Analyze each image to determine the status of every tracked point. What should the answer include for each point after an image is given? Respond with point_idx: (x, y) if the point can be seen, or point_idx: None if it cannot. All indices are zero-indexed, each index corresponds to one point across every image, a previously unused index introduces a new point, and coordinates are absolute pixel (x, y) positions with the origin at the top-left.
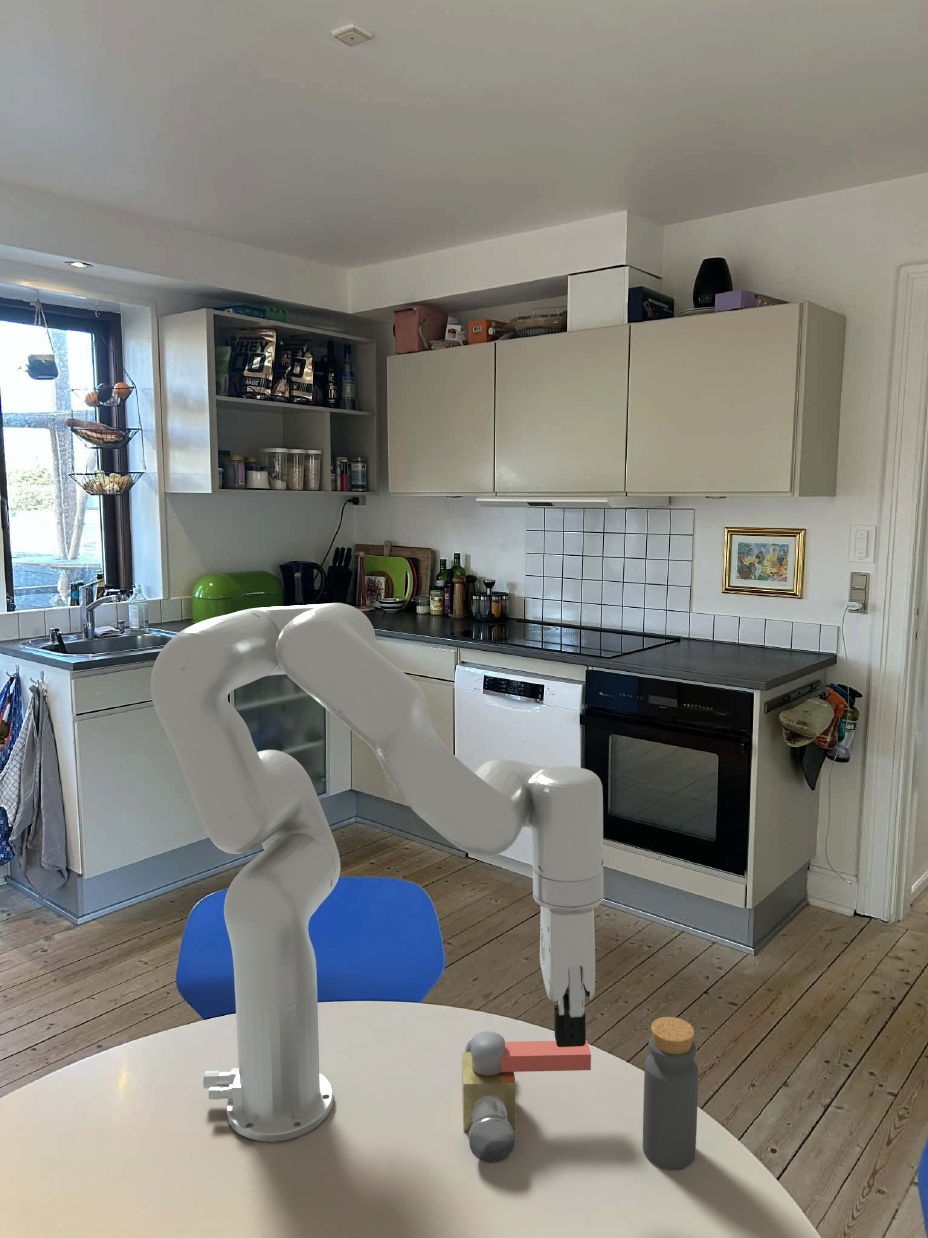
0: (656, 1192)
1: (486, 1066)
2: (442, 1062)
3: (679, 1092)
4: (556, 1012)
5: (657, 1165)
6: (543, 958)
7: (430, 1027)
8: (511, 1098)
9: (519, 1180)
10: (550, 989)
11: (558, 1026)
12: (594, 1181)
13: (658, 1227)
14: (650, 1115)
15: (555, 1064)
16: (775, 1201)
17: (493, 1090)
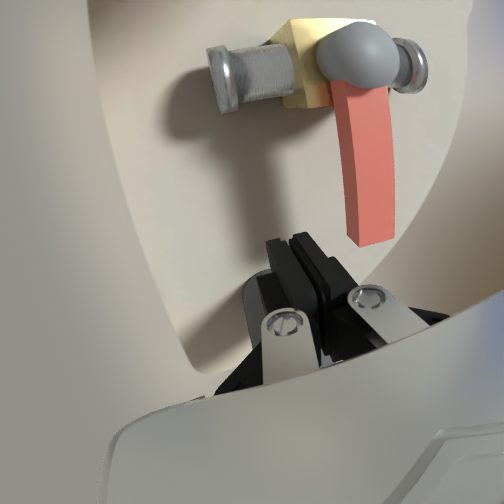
0: (206, 284)
1: (323, 53)
2: (398, 17)
3: None
4: (297, 299)
5: (245, 285)
6: (474, 456)
7: (449, 16)
8: (298, 101)
9: (187, 125)
10: (104, 494)
11: (280, 276)
12: (207, 219)
13: (158, 287)
14: (262, 313)
15: (348, 182)
16: (222, 367)
17: (297, 71)
